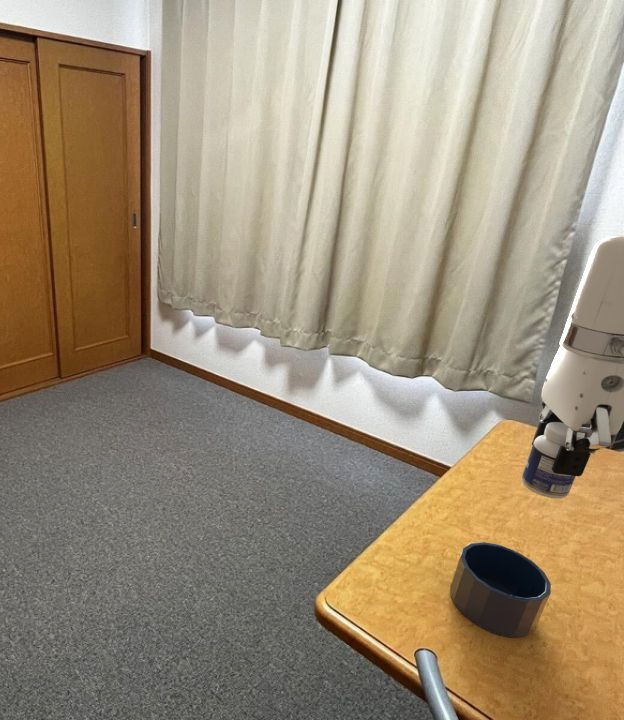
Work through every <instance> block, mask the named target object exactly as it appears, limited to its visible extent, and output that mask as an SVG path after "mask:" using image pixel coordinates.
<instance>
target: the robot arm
mask: <svg viewBox="0 0 624 720" xmlns="http://www.w3.org/2000/svg"><path fill="white" fill-rule="evenodd" d="M540 396H541V400H542V403H541V407H542V411H541V412H540V414H539V418H538V420H539V423H538V425H537V428H536V430H535V434H534V437H533V439H532V442H531V447H532V446H533V443H534V441H535V439H536V438H537V437H539V436H541V435H544V432H545V429H546V426H547V424H548V423H551V422H561V423H565V424H566V425H567V426H568V429H567V435H566V441H565V446H560V448H559V451H558V453H557V456H556V459H555V461H554V464H553V466H552V471H553V472H554V473H556V474H563V475H571V476H576V477H582V476H583V474H584V472H585V469H586V467H587V464H588V462H589V459H590V458H591V456H592V455H591V454H593V455H594V454H595V453H596V452H597V451H598V450H601V449H605V448H609V447H611V445H612V437H611V436H615V435H617V434H618V433H620V432H619V431H620V430H621V428H622V426H623V423H624V235H616V236H614V235H613V236H608V237H605V238H602V239H601V240H598V242H597V243H596V244H595V245H594V247H593V248H592V250H591V253H590V255H589V257H588V260H587V264H586V267H585V269H584V272H583V275H582V278H581V281H580V283H579V287H578V290H577V292H576V295H575V297H574V301H573V303H572V306H571V309H570V311H569V315H568V317H567V320H566V323H565V326H564V329H563V331H562V334H561V337H560V340H559V348H558V350H557V352H556V354H555V356H554V358H553V361H552V363H551V365H550V367H549V370H548V372H547V375H546V377H545V380H544V383H543V386H542V388H541V393H540ZM583 425H589V427H585V426H583ZM577 432H579V433H585V434H587V436H586V437H584V438H582V439H579V440H576V438H577Z"/></svg>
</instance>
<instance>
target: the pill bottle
mask: <svg viewBox="0 0 624 720" xmlns="http://www.w3.org/2000/svg"><path fill="white" fill-rule="evenodd" d="M567 429H568V426H567V425H566V424H565V423H561V422H551V423H548V424H547V426H546V429H545V432H544V435H541V436H539V437H537V438H536V439H535V441H534V443H533V446H532V445H531V449H530V451H529V454H528V457H527V460H526V464H525V465H524V470H523V472H522V475H521V483H522V484H523V486H524V487H525V488H526V489H527V490H529V491H530V492H532V493H534V494H536V495H539V496H542V497H544V498H545V497H546V498H549V499H557V500H559V499H560V500H561V499H564V498H566V497H568V496H569V494H570V492H571V489H572V487H573V484H574V482H575V480H576V477H577V476H571V475H563V474H556V473H554V472H553V471H552V466H553V464H554V461H555V459H556V456H557V453H558V451H559V448H560V446H565V441H566V435H567ZM585 435H586V433H579V432H577V438H576V440H579V439H582V438H585Z"/></svg>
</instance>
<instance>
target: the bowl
mask: <svg viewBox="0 0 624 720" xmlns="http://www.w3.org/2000/svg"><path fill="white" fill-rule="evenodd" d="M459 555H460V556H459V559H458V562H457V564H456V567H455V571H454V574H453V577H452V581H451V583H450V587H449V594H450V598H451V600H452V602H453V604H454V606H455V607H456V608H457V610H458V611H459V612H460V613H461V615H463V616H464V617H465V618H466V619H467V620H469V621H470V622H471V623H473V624H474V625H476V626H478V627H479V628H481V629H482V630H485V631H487V632H488V633H491V634H494V635H497V636H499V637H504V638H510V639H518V638H525V637H527V636H529V635H531V634H532V632H534V631H535V630H534V629H535V628H536V627H537V625H538V623H539V620H540V618H541V617H542V614H543V612H544V609H545V607H546V605H547V603H548V600H549V598H550V596H551V591H552V583H551V582H550V580H549V577H548V576H547V575H546V573H545V571H544V570H542V568H540V566H539V565H537V564H536V563H535V562H534V561H533V560H532V559H530V558H528V557H527V556H525V555H523V554H522V553H520V552H518V551H516V550H514V549H512V548H510V547H506V546H503V545H501V544H497V543H492V542H486V541H481V542H470V543H468V544H467V545H465V546H464V547H463V548H462V549H461V552H460V554H459Z"/></svg>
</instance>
